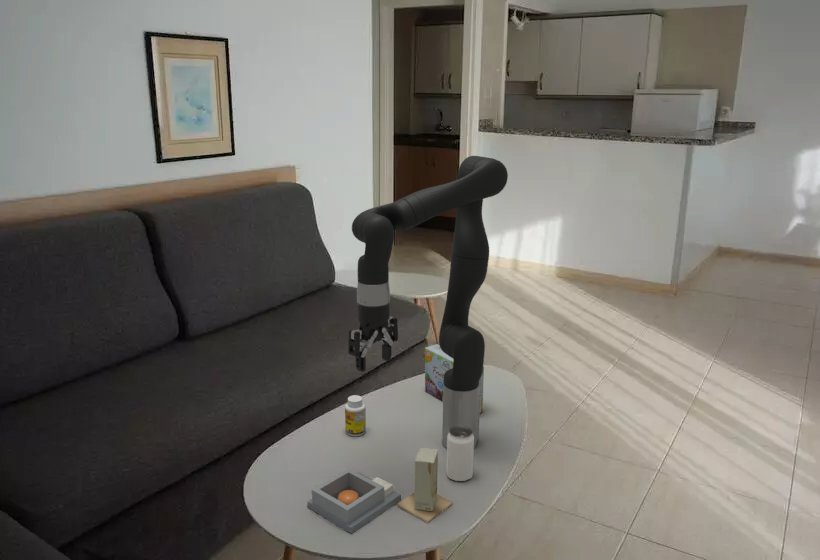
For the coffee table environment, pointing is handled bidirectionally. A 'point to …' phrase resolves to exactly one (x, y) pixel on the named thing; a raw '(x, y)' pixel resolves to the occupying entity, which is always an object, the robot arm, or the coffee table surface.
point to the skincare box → (426, 479)
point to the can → (460, 453)
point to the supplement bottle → (355, 416)
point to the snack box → (442, 373)
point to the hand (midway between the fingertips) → (374, 365)
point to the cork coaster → (424, 515)
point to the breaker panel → (361, 511)
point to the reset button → (348, 496)
